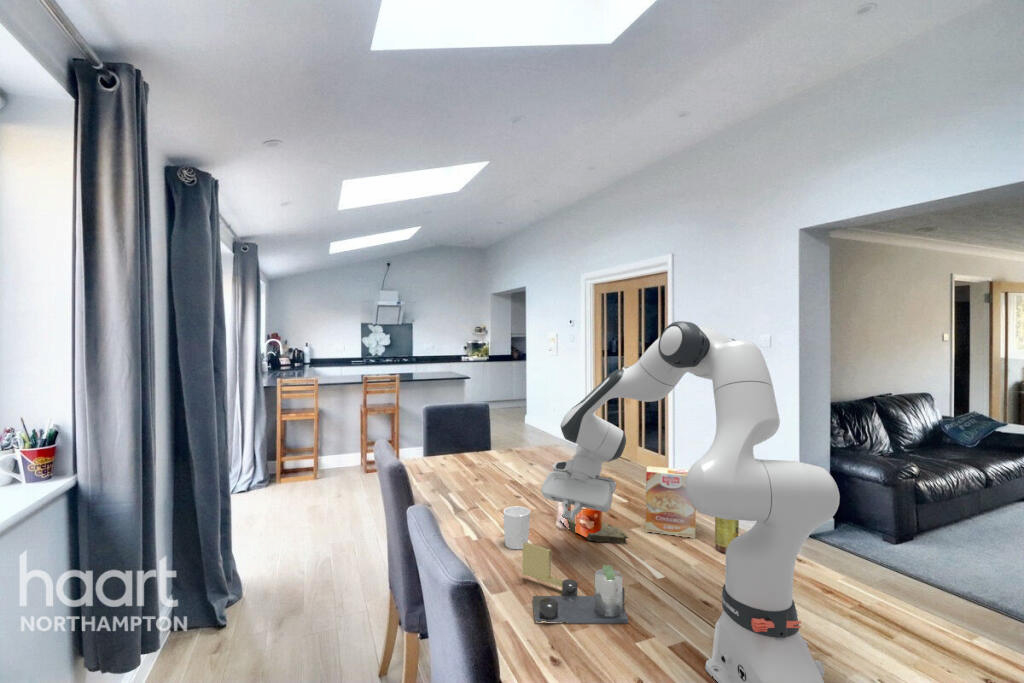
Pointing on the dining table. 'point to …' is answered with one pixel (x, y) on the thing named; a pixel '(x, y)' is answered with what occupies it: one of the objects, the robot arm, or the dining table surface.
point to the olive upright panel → (544, 568)
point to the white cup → (516, 526)
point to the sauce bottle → (725, 532)
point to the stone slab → (603, 533)
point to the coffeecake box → (668, 503)
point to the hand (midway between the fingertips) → (567, 518)
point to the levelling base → (586, 602)
